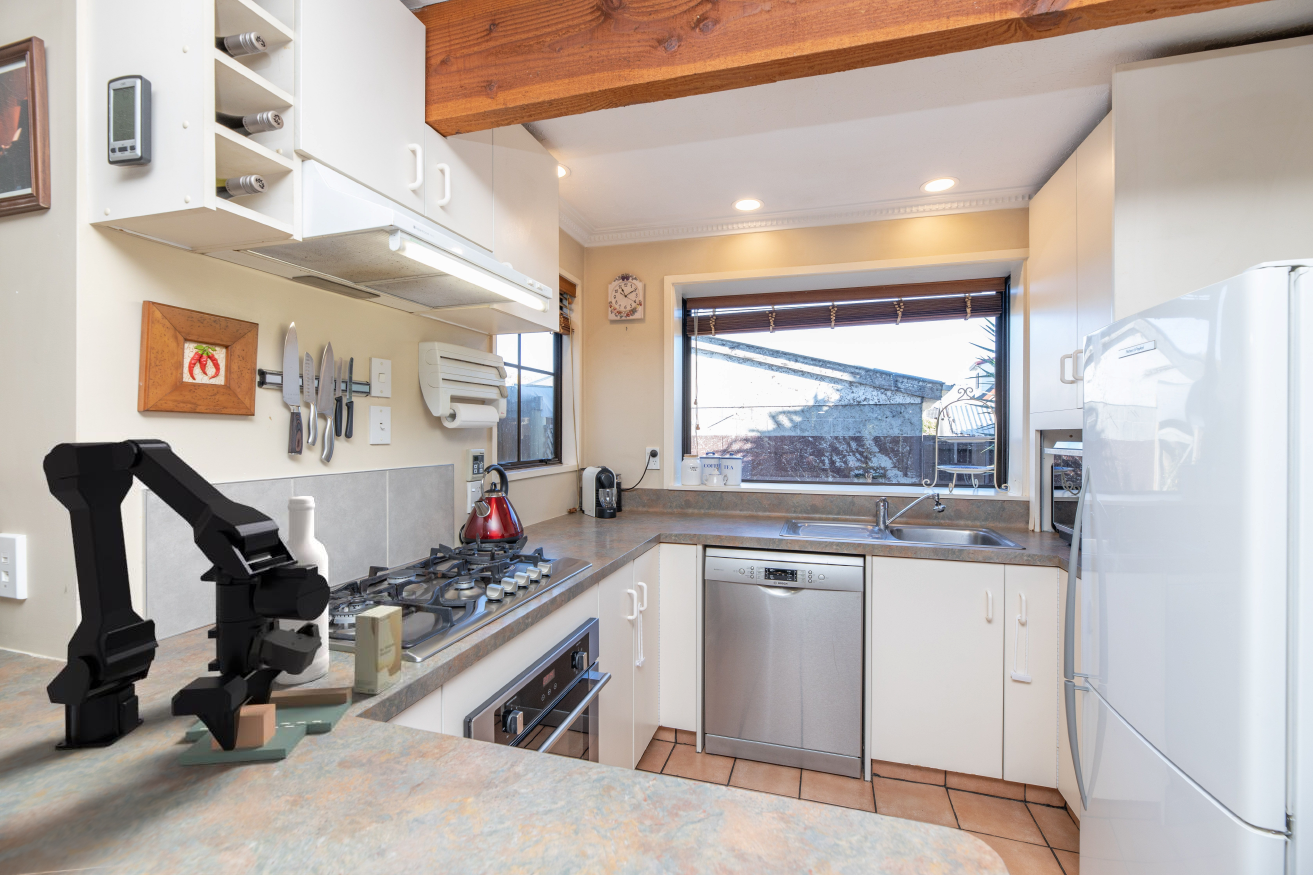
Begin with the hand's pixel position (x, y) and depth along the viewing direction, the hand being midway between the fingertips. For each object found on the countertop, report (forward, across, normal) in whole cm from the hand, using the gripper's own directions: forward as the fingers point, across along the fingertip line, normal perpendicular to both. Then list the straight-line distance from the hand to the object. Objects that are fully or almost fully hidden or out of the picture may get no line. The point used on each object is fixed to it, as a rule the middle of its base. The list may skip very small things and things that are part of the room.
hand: (244, 735), depth 75 cm
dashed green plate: (+2, +8, 0) cm, 8 cm away
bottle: (+2, +24, +3) cm, 24 cm away
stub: (+2, 0, 0) cm, 2 cm away
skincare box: (+2, +18, -11) cm, 21 cm away
